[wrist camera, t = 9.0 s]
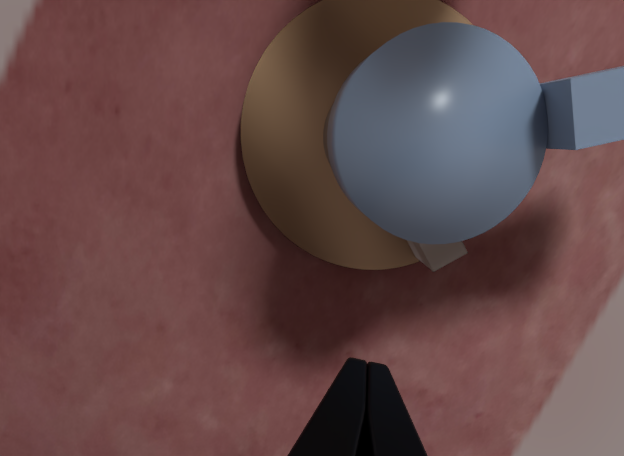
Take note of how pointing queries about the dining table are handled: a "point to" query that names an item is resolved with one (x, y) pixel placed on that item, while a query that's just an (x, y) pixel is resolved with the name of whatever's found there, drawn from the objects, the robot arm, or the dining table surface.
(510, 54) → the orange-banded blue bar
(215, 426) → the dining table surface
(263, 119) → the tan disc with post
